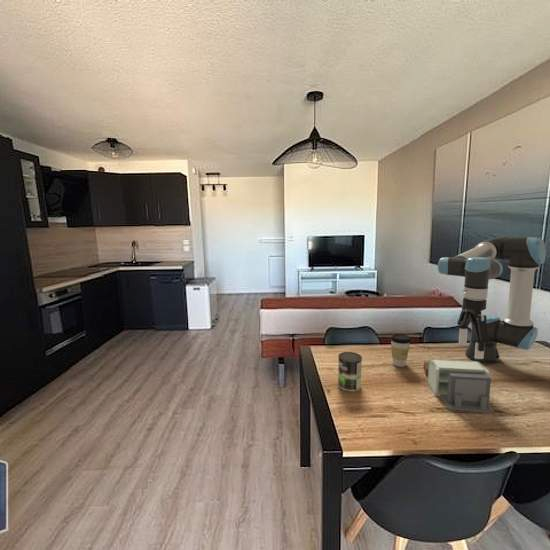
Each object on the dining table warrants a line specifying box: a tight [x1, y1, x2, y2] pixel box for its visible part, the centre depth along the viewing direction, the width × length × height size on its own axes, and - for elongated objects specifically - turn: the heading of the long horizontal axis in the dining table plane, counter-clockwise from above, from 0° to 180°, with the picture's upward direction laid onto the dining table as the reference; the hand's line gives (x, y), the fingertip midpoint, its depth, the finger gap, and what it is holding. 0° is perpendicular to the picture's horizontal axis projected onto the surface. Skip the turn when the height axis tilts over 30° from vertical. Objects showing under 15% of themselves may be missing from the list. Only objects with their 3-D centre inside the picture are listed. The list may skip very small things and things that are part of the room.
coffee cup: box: [389, 333, 412, 367], centre depth 157 cm, size 10×10×15 cm
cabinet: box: [427, 358, 495, 414], centre depth 126 cm, size 20×20×12 cm
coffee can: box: [337, 351, 363, 392], centre depth 137 cm, size 10×10×14 cm
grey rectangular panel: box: [447, 373, 492, 407], centre depth 120 cm, size 14×3×12 cm, turn 80°
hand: (470, 350), depth 119 cm, fingers open, 13 cm apart
